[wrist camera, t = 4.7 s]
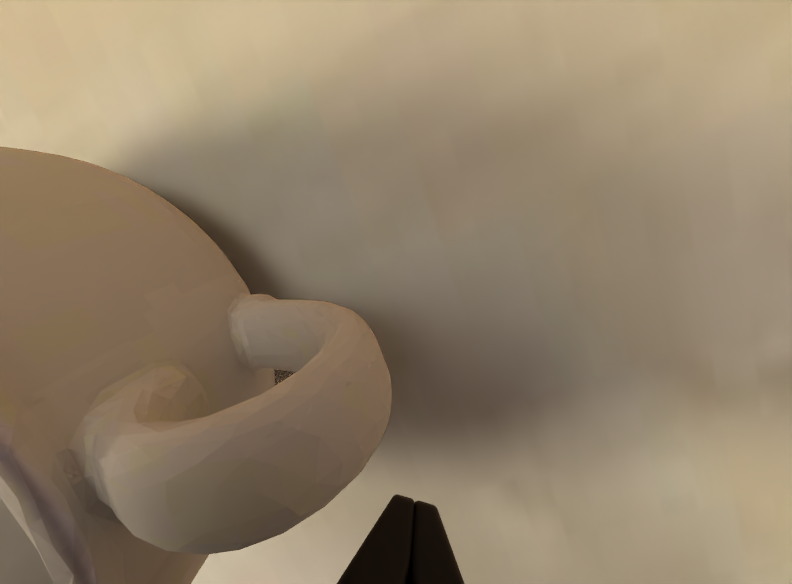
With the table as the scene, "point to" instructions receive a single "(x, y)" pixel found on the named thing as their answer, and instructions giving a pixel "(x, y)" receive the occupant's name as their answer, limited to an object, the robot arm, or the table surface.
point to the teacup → (158, 387)
